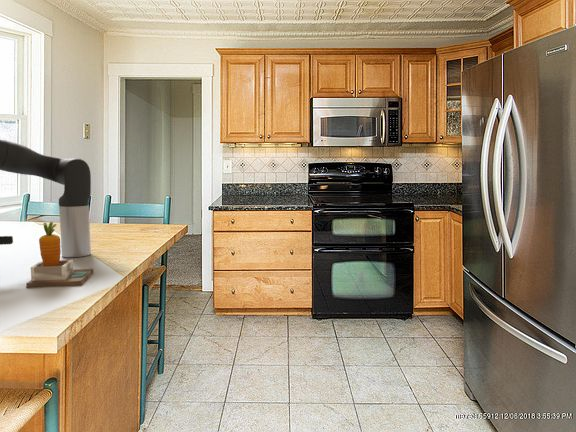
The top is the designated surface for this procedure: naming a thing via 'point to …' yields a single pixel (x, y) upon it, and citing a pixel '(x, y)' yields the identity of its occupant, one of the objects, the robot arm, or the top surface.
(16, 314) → the top surface
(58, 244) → the carrot
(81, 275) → the socket board
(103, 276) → the top surface
